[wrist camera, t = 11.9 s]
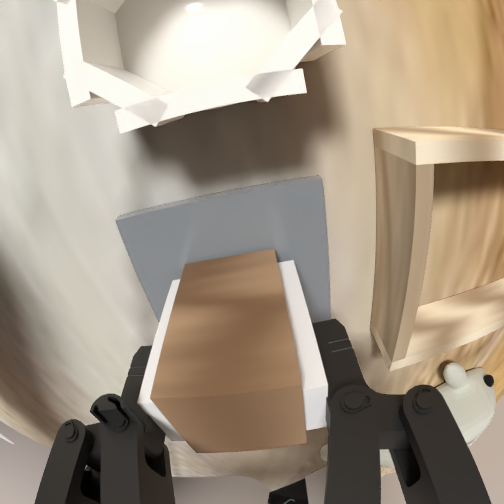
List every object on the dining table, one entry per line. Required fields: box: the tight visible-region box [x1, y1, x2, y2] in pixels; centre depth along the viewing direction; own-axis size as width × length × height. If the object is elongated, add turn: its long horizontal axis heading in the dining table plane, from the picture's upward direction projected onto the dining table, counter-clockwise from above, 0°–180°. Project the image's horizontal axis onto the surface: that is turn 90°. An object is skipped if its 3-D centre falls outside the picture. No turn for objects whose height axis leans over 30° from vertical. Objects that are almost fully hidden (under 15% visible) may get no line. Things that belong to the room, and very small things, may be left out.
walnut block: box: [150, 248, 307, 453], centre depth 11 cm, size 4×4×7 cm
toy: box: [320, 362, 496, 469], centre depth 19 cm, size 17×19×10 cm
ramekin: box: [54, 0, 346, 134], centre depth 7 cm, size 8×8×4 cm
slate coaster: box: [115, 175, 330, 323], centre depth 14 cm, size 9×9×1 cm
